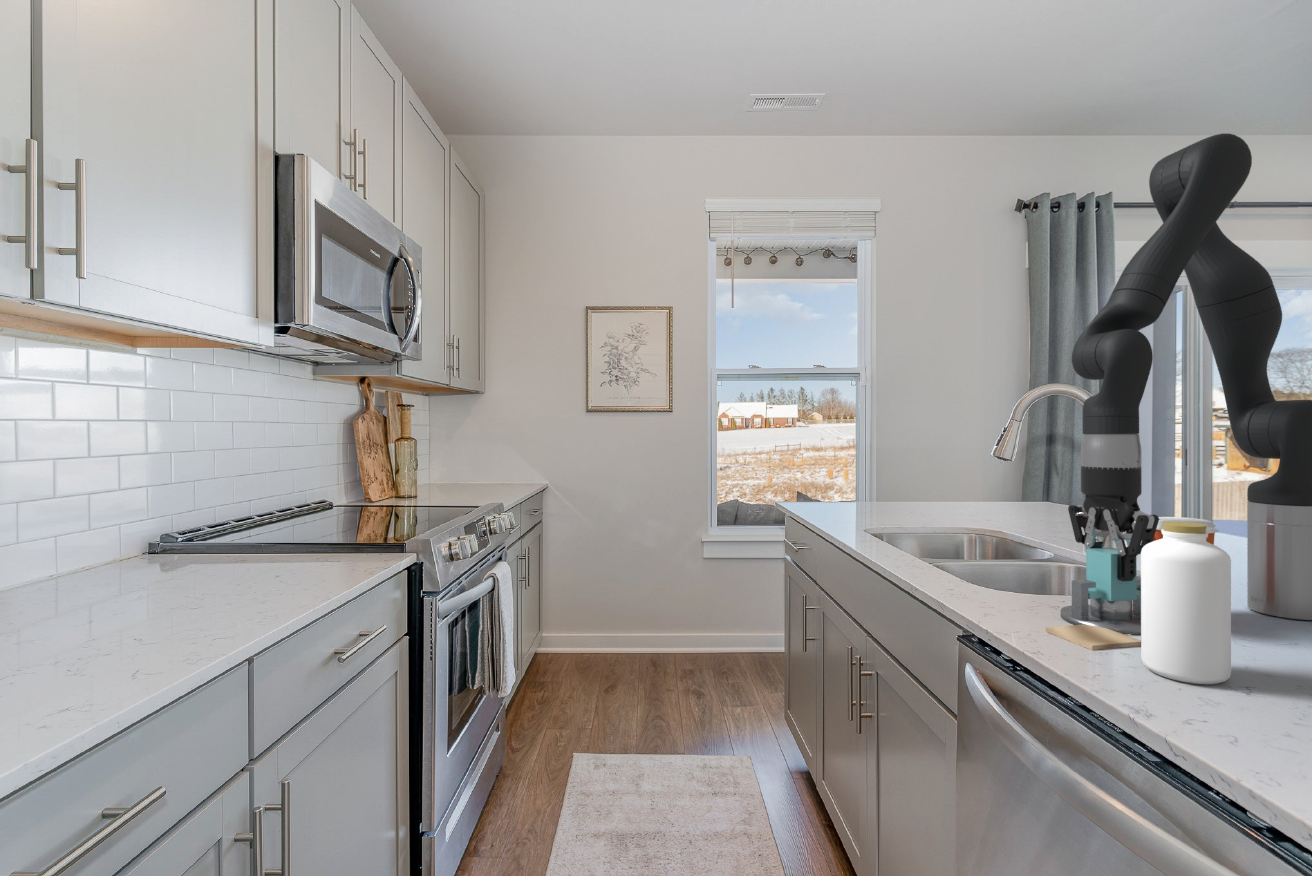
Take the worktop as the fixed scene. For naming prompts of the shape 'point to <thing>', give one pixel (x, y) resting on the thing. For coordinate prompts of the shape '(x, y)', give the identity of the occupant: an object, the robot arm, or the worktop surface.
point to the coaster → (1093, 636)
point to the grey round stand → (1103, 610)
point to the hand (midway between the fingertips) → (1110, 576)
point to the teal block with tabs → (1108, 576)
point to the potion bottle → (1186, 606)
